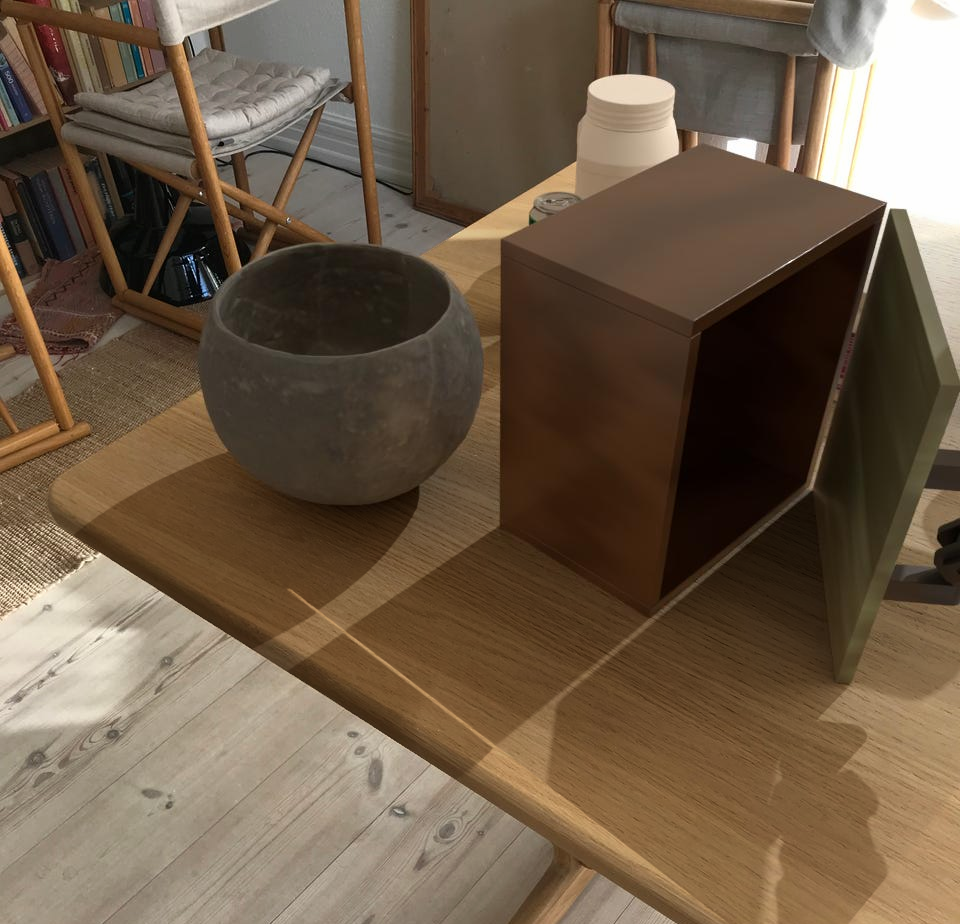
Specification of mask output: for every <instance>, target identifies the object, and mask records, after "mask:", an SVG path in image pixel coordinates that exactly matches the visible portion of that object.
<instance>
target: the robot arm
mask: <svg viewBox="0 0 960 924" xmlns="http://www.w3.org/2000/svg"><path fill="white" fill-rule="evenodd" d="M959 532H960V517H958V518H956V519H954V520H951V521H949V522H946V523H944V524H941V525H940V526H939V527H938V528H937V533H936V541H937V542H938V543H939V545H940V546H941V547H940V548H937V549H936V550H935V551H934V554H933V561H932V562H933V565H934V567H936V568H937V569H938V571H939V572H940V573H941V575H942V576H943V577H944V579H945V580H946V581H947V582H949V583H958V582H960V541H958V542H956V539H957V537H958V535H959Z"/></svg>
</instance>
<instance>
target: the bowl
mask: <svg viewBox="0 0 960 924" xmlns="http://www.w3.org/2000/svg"><path fill="white" fill-rule="evenodd" d="M483 351H484V349H483V343H482V338H481V335H480V329H479V326H478V323H477V321H476V318H475V315H474V312H473V311H472V309H471V307H470V305H469V303H468V302H467V300H466V298H465V297H464V295H463V293H462V291H461V290H460V289H459V287H458V286H457V285H456V283H455V282H454V280H452V279H451V278H450V276H449V275H448V274H447V273H446V272H445V271H443V270H442V269H441V268H439V267H438V266H436V265H435V264H434V263H432V262H430V261H429V260H426V259H425V258H423V257H420V256H418V255H415V254H414V253H410V252H407V251H404V250H401V249H398V248H395V247H392V246H387V245H381V244H375V243H366V242H350V241H329V242H327V241H326V242H325V241H323V242H321V241H320V242H307V243H306V242H305V243H300V244H296V245H291V246H286V247H283V248H280V249H279V248H278V249H277V250H273V251H271V252H268V253H265V254H263V255H260V256H258V257H256V258H255V259H253V260H251V261H250V262H248V263H246V264H245V265H243V266H242V267H240V268H239V269H238V270H236V271H234V273H232V274H231V275H230V276H229V277H227V278H226V279H225V280H224V281H223V282H222V283H221V285H219V287H218V288H217V289H216V291H215V293H214V294H213V297H212V299H211V300H210V303H209V306H208V308H207V311H206V313H205V317H204V321H203V324H202V329H201V333H200V339H199V345H198V351H197V353H198V354H197V367H198V378H199V385H200V389H201V393H202V397H203V401H204V406H205V408H206V412H207V414H208V417H209V419H210V421H211V424H212V426H213V428H214V431H215V433H216V434H217V437H218V438H219V440H220V441H221V443H222V445H223V446H224V447H225V449H226V450H227V452H228V453H229V454H230V456H232V458H234V459H235V460H236V462H237V463H238V464H239V465H240V466H241V467H242V468H243V469H245V470H246V471H247V472H248V473H249V474H250V475H252V476H253V477H254V478H256V479H257V480H258V481H260V482H262V483H264V484H266V485H267V486H269V487H270V488H272V489H274V490H276V491H278V492H280V493H283V494H284V495H288V496H291V497H293V498H295V499H298V500H302V501H306V502H310V503H314V504H321V505H333V506H334V505H335V506H336V505H337V506H364V505H372V504H376V503H381V502H384V501H387V500H390V499H393V498H396V497H398V496H400V495H403V494H405V493H408V492H410V491H411V490H414V489H415V488H416V487H418V486H420V485H422V484H423V483H425V482H426V481H427V480H429V479H430V478H431V477H432V476H433V475H434V474H435V473H436V472H437V471H438V470H439V469H440V468H441V467H442V466H444V464H445V463H447V461H448V460H449V459H450V458H451V457H452V455H454V453H455V452H456V450H457V449H458V447H460V445H461V444H463V442H464V441H465V440H466V438H467V436H468V434H469V432H470V430H471V428H472V426H473V423H474V421H475V418H476V415H477V413H478V408H479V405H480V402H481V398H482V390H483V382H484V371H485V367H484V366H485V364H484V363H485V361H484V352H483Z"/></svg>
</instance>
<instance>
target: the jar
mask: <svg viewBox="0 0 960 924" xmlns="http://www.w3.org/2000/svg"><path fill="white" fill-rule="evenodd" d="M586 96H587V99H586V111H585V114H584V116H583V117H582V118H581V119H580V120H579V122H578V123H577V130H576V131H577V134H576V162H575V163H576V164H575V183H574V194H576V195H578V196H580V197H581V198H582V199H583V200H584V199H586V198H588V197H590V196H592V195H594V194H596V193H598V192H600V191H602V190H605V189H607V188H609V187H611V186H613V185H615V184H617V183H619V182H621V181H623V180H626V179H628V178H630V177H632V176H634V175H636V174H638V173H640V172H642V171H644V170H647V169H649V168H651V167H653V166H655V165H657V164H659V163H661V162H663V161H665V160H668V159H670V158H672V157H674V156H676V155H678V154H680V152H679V151H680V140H679V137H678V132H677V131H678V130H677V126H676V121H675V118H674V107H675V106H674V104H675V96H676V89H675V87H674V86H673V84H671V83H670V82H669V81H666V80H664V79H661V78H659V77H655V76H651V75H644V74H630V73H629V74H628V73H627V74H613V75H607V76H603V77H601V78H598V79H596V80H593V82H591V83H590V84H589V85H588V87H587V95H586Z"/></svg>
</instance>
